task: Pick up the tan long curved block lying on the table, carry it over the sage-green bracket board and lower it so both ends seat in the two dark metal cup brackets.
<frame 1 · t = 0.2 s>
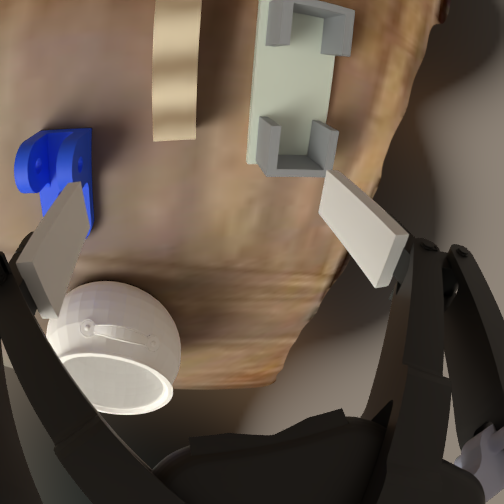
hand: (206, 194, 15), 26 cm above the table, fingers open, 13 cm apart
pot: (115, 319, 55), on the table
bracket: (68, 186, 37), on the table
bracket board: (291, 83, 36), on the table
tan long curved block: (176, 65, 32), on the table
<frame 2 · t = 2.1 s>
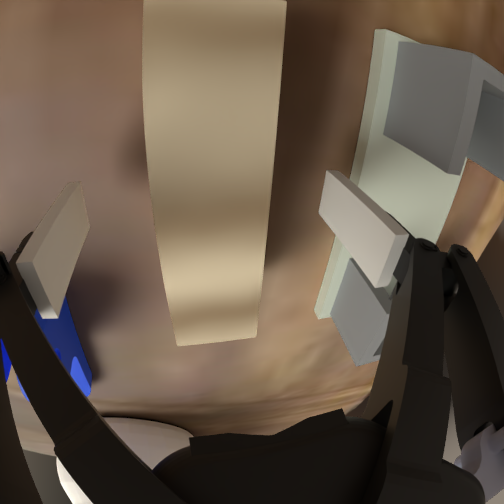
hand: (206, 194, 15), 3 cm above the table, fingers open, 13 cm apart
pot: (131, 436, 41), on the table
bracket: (45, 340, 23), on the table
bracket board: (402, 195, 22), on the table
tan long curved block: (202, 165, 17), on the table
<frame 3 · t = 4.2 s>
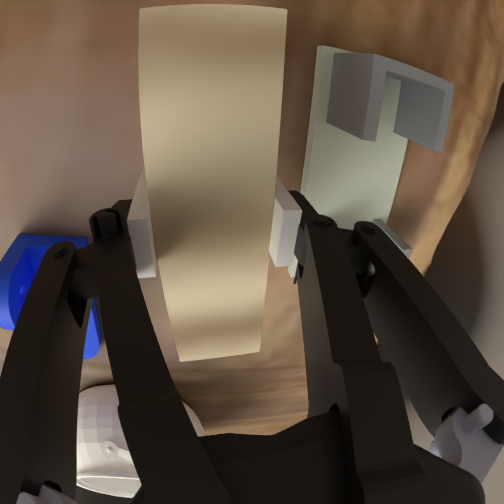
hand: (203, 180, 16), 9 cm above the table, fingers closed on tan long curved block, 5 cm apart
pot: (132, 410, 46), on the table
bracket: (64, 299, 30), on the table
bracket board: (352, 171, 28), on the table
tan long curved block: (202, 178, 17), point 8 cm above the table, touching gripper
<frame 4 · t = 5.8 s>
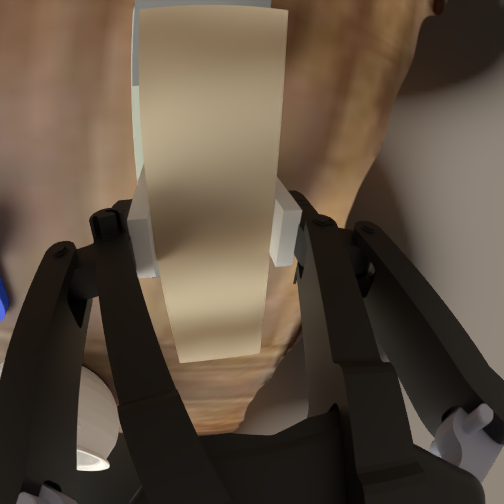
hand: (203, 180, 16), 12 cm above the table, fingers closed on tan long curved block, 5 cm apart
pot: (57, 379, 45), on the table
bracket board: (193, 128, 26), on the table
tan long curved block: (202, 180, 17), point 12 cm above the table, touching gripper
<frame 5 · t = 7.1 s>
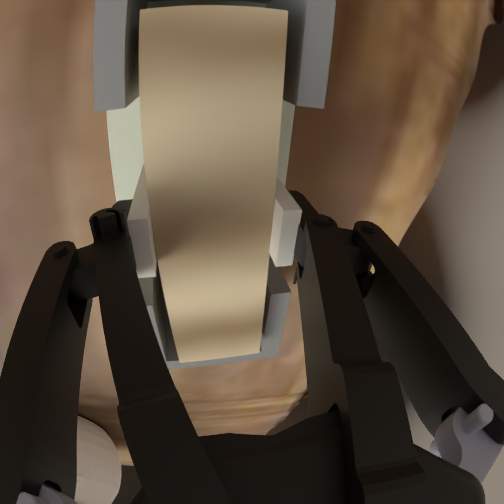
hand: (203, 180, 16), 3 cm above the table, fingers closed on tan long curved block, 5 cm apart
pot: (52, 423, 37), on the table
bracket board: (199, 163, 18), on the table
tan long curved block: (202, 180, 17), point 2 cm above the table, touching gripper
when the fingers open (2 cm above the table, at t = 7.6 s): tan long curved block stays where it is, resting on bracket board.
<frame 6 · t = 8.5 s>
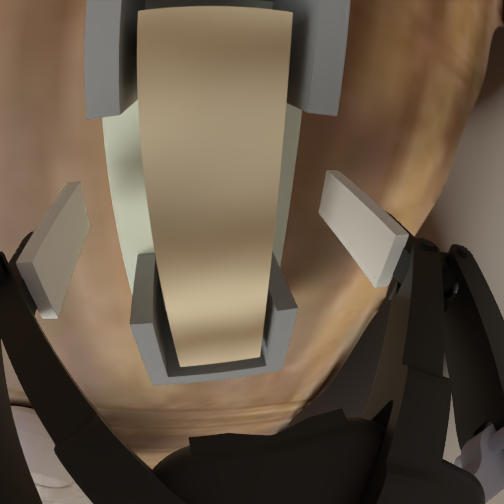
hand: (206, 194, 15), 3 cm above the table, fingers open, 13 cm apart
pot: (52, 429, 37), on the table
bracket board: (201, 171, 18), on the table
tan long curved block: (203, 183, 17), point 1 cm above the table, touching bracket board
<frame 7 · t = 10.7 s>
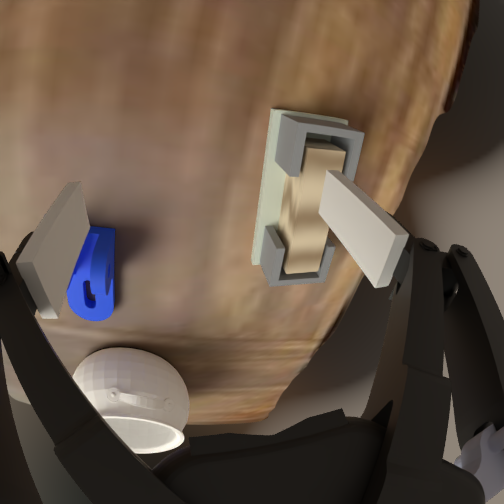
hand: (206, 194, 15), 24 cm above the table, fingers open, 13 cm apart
pot: (129, 373, 60), on the table
bracket: (90, 273, 43), on the table
bracket board: (296, 192, 43), on the table
tan long curved block: (298, 197, 43), point 1 cm above the table, touching bracket board
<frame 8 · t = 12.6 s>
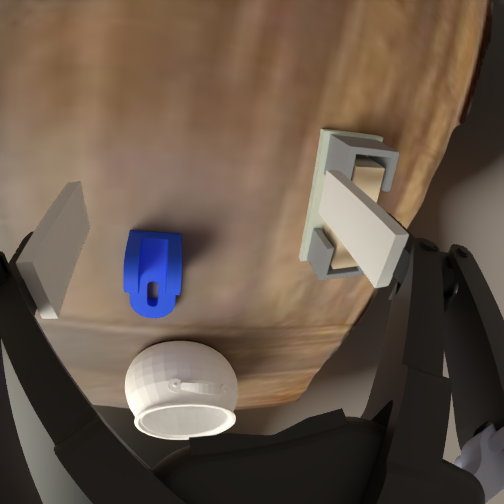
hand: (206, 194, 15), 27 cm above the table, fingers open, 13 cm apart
pot: (178, 364, 68), on the table
bracket: (153, 274, 51), on the table
bracket board: (338, 198, 49), on the table
tan long curved block: (341, 203, 48), point 1 cm above the table, touching bracket board
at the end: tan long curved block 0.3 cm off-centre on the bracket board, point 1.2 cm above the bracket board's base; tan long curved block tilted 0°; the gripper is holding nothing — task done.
